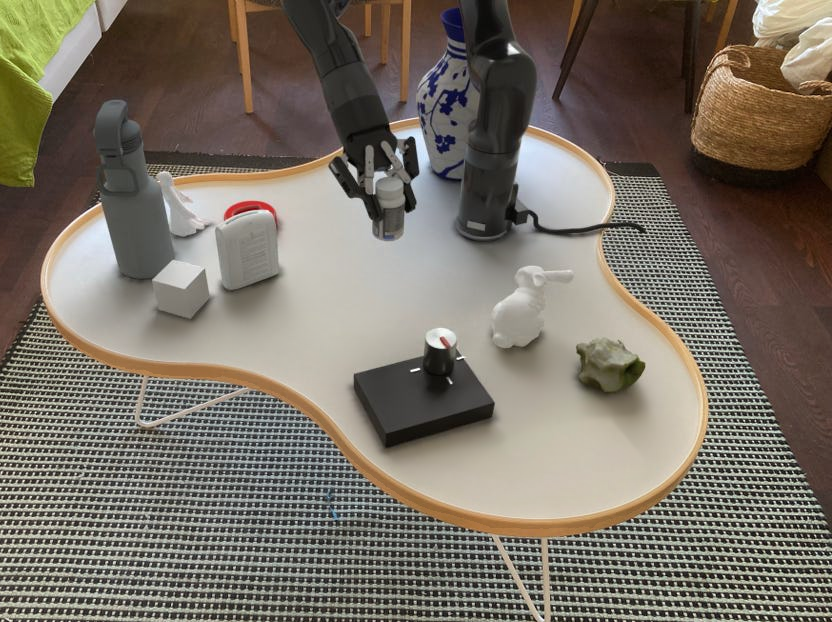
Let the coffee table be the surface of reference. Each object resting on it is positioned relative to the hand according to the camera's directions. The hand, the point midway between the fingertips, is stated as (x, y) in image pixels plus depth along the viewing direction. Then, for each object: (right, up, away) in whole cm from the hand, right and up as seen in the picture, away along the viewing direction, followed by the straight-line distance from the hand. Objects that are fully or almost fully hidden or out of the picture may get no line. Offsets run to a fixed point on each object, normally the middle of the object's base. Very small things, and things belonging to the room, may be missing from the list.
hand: (395, 215), depth 106 cm
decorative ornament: (-25, +4, +30) cm, 40 cm away
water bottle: (-42, -4, +22) cm, 48 cm away
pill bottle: (-1, -2, +4) cm, 5 cm away
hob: (+3, -27, -3) cm, 27 cm away
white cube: (-34, -12, +14) cm, 38 cm away
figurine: (-37, +3, +30) cm, 48 cm away
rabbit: (+20, -16, +9) cm, 27 cm away
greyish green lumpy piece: (+31, -24, +1) cm, 39 cm away
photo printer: (-23, -7, +19) cm, 31 cm away
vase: (+16, +19, +47) cm, 53 cm away
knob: (+6, -21, -1) cm, 22 cm away
